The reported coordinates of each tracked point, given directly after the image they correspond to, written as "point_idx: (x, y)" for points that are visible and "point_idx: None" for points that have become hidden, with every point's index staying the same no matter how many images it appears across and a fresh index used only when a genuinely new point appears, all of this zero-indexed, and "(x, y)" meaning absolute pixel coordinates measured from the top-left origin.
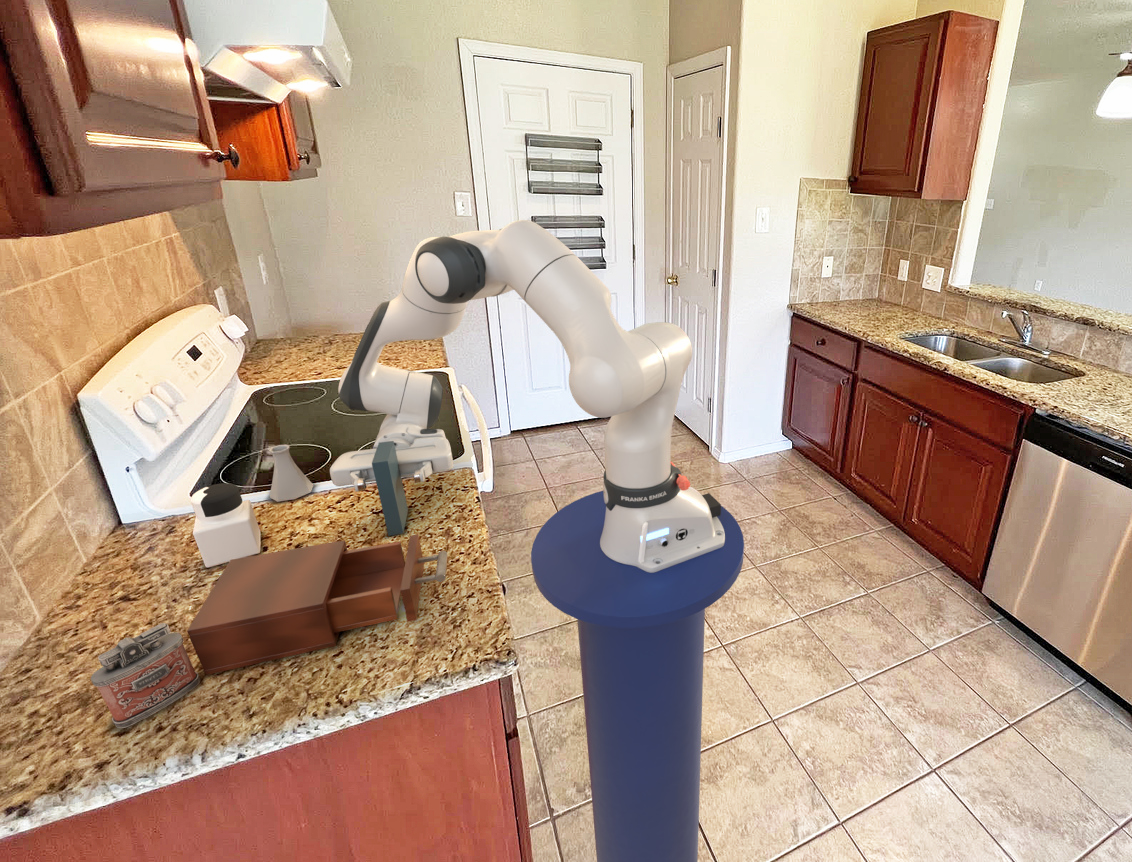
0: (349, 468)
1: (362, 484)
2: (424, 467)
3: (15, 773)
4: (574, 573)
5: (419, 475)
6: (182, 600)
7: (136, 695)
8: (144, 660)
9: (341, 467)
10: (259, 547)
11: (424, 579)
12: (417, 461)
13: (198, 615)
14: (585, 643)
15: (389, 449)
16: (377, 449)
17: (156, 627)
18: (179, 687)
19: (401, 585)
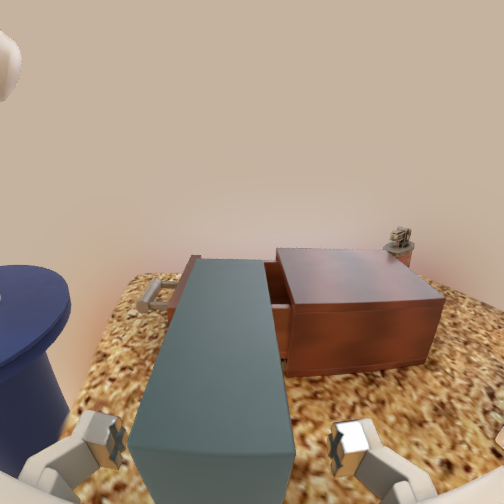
0: (454, 490)
1: (335, 422)
2: (59, 446)
3: (424, 277)
4: (35, 301)
5: (98, 413)
6: (493, 366)
7: None
8: (391, 243)
9: (492, 483)
10: (501, 439)
11: (175, 282)
12: (68, 501)
13: (392, 256)
14: (57, 395)
15: (180, 323)
16: (269, 342)
17: (396, 231)
18: None
19: (199, 257)
